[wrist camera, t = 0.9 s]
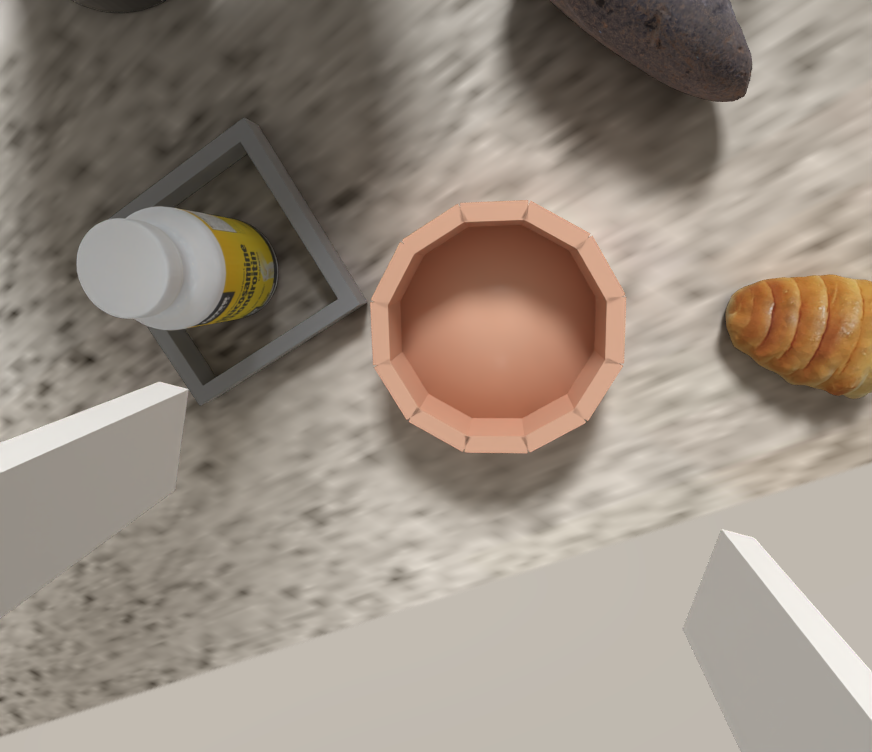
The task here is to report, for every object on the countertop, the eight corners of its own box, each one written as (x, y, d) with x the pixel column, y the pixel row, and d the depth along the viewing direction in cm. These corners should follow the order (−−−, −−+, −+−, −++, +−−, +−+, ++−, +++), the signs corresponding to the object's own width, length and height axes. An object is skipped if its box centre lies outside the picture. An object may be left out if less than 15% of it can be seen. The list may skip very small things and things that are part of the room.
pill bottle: (241, 337, 39) (132, 367, 28) (171, 270, 39) (32, 272, 27) (302, 267, 38) (213, 268, 26) (229, 197, 37) (108, 167, 26)
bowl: (349, 286, 37) (325, 289, 32) (537, 164, 35) (543, 148, 30) (459, 465, 39) (452, 493, 34) (649, 361, 36) (672, 376, 31)
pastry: (703, 361, 36) (726, 371, 32) (739, 253, 34) (767, 251, 31) (856, 398, 35) (897, 413, 31) (899, 290, 34) (947, 292, 30)
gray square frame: (107, 236, 39) (86, 235, 37) (258, 125, 36) (244, 117, 34) (214, 399, 40) (199, 406, 38) (367, 302, 37) (359, 304, 35)
